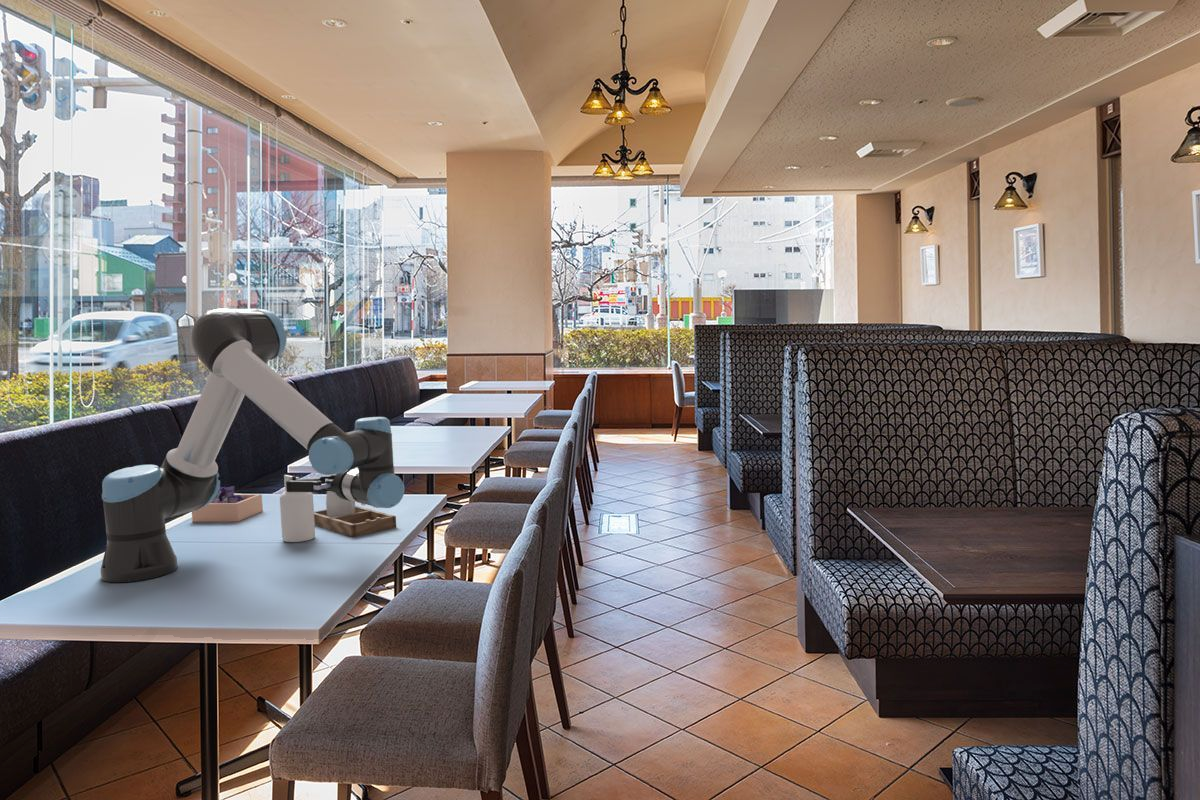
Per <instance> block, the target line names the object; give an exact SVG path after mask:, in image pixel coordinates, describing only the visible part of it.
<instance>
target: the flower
mask: <svg viewBox="0 0 1200 800" xmlns="http://www.w3.org/2000/svg"><path fill="white" fill-rule="evenodd" d="M234 492H235V486H234V485H230V486H229V487H227V486H220V488H219V491H218V494H217V496H216V497H215V499H214V503H237V502H240V501H242V500H244V496H242V495H235V493H234Z"/></svg>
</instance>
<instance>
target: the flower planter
mask: <svg viewBox="0 0 1200 800" xmlns="http://www.w3.org/2000/svg"><path fill="white" fill-rule="evenodd" d="M234 494H235V493H234ZM235 495H242V496H244V500H242V501H240V502H237V503H214V500H213V501H212V502H211V503H209V504H208V505H206V506H204V507H202V508H200V509H198V510H195V511H191V519H192V523H193V522H196V523H197V522H199V523H201V522H203V523H205V522H210V523H211V522H212V523H214V522H240V521H243V520H245V519H247V518H250V517H252V516H254V515H257V514H259V513H261V512H264V509H263V494H262V493H253V494H251V493H250V494H249V493H248V494H246V493H243V494H240V493H239V494H235Z"/></svg>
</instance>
